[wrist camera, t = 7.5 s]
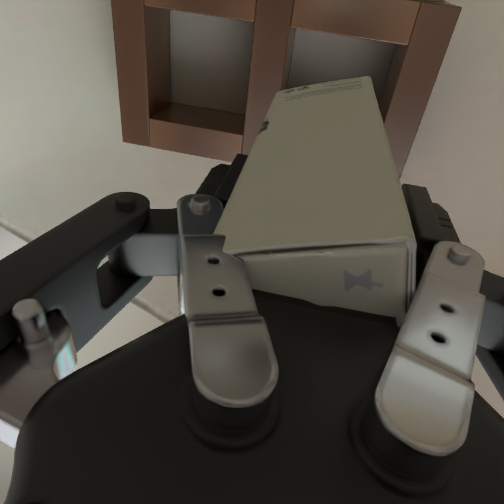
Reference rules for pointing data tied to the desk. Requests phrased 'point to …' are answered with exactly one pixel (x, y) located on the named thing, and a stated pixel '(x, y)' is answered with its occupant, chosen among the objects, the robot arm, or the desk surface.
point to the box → (324, 204)
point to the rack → (272, 66)
